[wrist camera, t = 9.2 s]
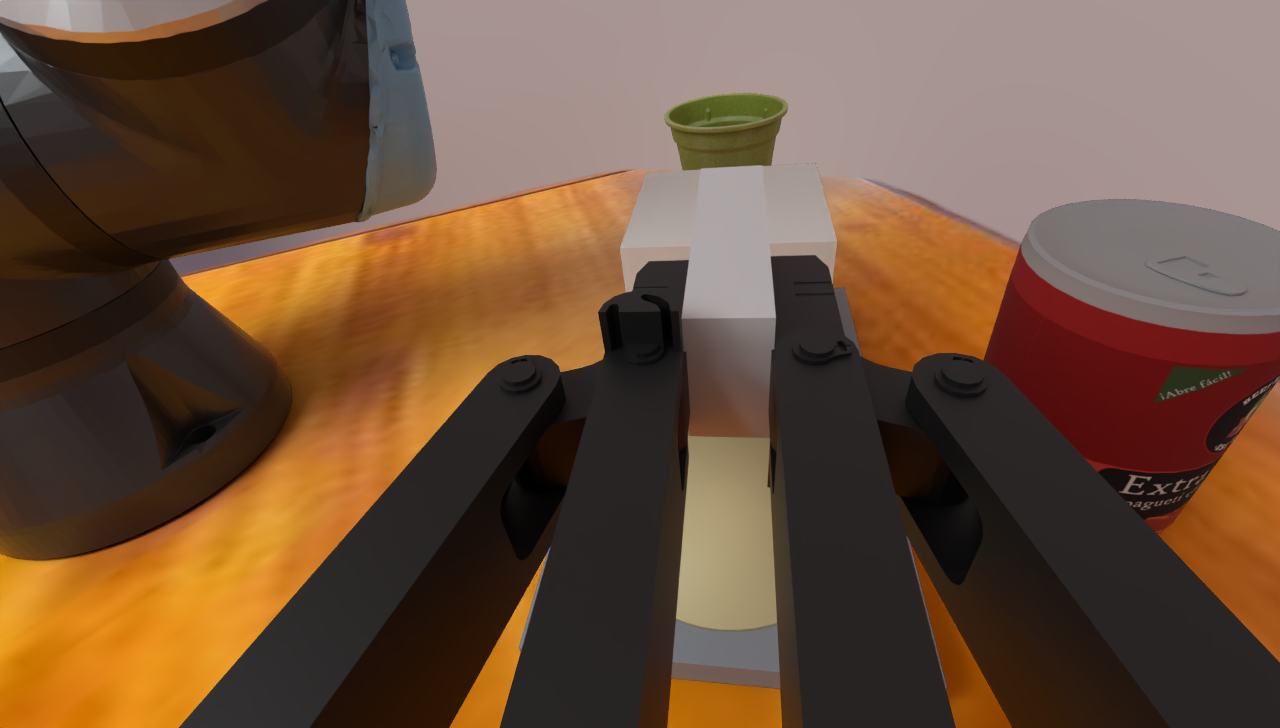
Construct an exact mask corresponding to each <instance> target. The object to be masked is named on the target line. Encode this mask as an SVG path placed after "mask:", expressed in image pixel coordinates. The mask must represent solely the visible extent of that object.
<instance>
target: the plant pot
mask: <svg viewBox="0 0 1280 728" xmlns="http://www.w3.org/2000/svg"><path fill="white" fill-rule="evenodd" d="M787 109H788V104H787V103H786V101H785V100H783V99H781V98H779V97H775V96H771V95H764V94H755V93H733V94H722V95H714V96H708V97H702V98H698V99H694V100H690V101H687V102H684V103H681V104H679V105H676V106H674V107H672V108H671V109H669V110H668V111H667V112H666V113H665V122H666V124H667V125H668V126H669V127H671V131H672V135H673V139H674V141H675V142H676V143H677V146H678V151H679V155H680V160H681V165H682V170H683V171H685V170H701V168H719V167H739V166H758V165H762V166H771V163H772V156H773V150H774V144H775V138H776V135H777V134H778V132H779V129H780V125H781V119H782V117H783V116H784V115H785V114H786V113H787Z"/></svg>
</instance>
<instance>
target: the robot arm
mask: <svg viewBox="0 0 1280 728" xmlns="http://www.w3.org/2000/svg"><path fill="white" fill-rule="evenodd" d="M415 54H416V50H415V46H414V41H413V37H412V32H411V24H410V19H409V14H408V9H407V5H406V1H405V0H0V554H2V555H5V556H8V557H12V558H17V559H26V560H41V559H53V558H61V557H66V556H72V555H77V554H81V553H85V552H89V551H92V550H96V549H100V548H103V547H106V546H109V545H112V544H115V543H117V542H120V541H123V540H126V539H128V538H131V537H133V536H135V535H138V534H140V533H142V532H145V531H147V530H149V529H151V528H153V527H156V526H158V525H160V524H162V523H164V522H166V521H168V520H169V519H171V518H173V517H175V516H177V515H179V514H181V513H182V512H184V511H186V510H187V509H189V508H191V507H193V506H194V505H196V504H197V503H199V502H201V501H202V500H204V499H205V498H207V497H208V496H210V495H211V494H213V493H214V492H216V491H217V490H218V489H220V488H221V487H222V486H224V485H225V484H227V483H228V482H229V481H230V480H232V479H233V478H234V477H235V476H237V475H238V474H239V473H240V472H241V471H243V470H244V469H245V468H246V467H247V466H248V465H249V464H250V463H251V462H252V461H254V460H255V459H256V458H257V457H258V456H259V455H260V453H261V452H262V451H263V450H264V449H265V448H266V447H267V446H268V445H269V443H270V442H271V441H272V440H273V438H274V437H275V436H276V434H277V433H278V431H279V430H280V428H281V427H282V425H283V423H284V421H285V419H286V417H287V415H288V412H289V410H290V406H291V401H292V390H291V386H290V384H289V382H288V380H287V378H286V377H285V375H284V373H283V372H282V370H281V369H280V367H279V365H278V364H277V362H276V361H275V359H274V357H273V356H272V355H271V354H270V353H269V351H268V350H267V349H266V348H265V347H264V346H262V345H261V344H260V343H259V342H257V341H256V340H255V339H253V338H252V337H251V336H250V335H248V334H247V333H246V332H245V331H243V330H242V329H241V328H239V327H238V326H237V325H236V324H234V323H233V322H232V321H231V320H229V319H228V318H227V317H225V316H224V315H223V314H222V313H220V312H219V311H218V310H217V309H215V308H214V307H213V306H211V305H210V304H209V303H208V302H206V301H205V300H204V299H203V298H201V297H200V296H199V295H197V294H196V293H195V292H194V291H192V290H191V289H190V288H189V287H188V286H187V285H186V284H185V283H184V282H183V280H182V279H181V277H180V276H179V275H178V273H177V272H176V270H175V269H174V267H173V266H172V264H171V263H170V261H169V260H168V259H170V258H175V257H180V256H185V255H190V254H195V253H200V252H205V251H210V250H215V249H220V248H225V247H231V246H236V245H240V244H246V243H251V242H255V241H261V240H266V239H270V238H276V237H280V236H286V235H291V234H295V233H301V232H306V231H310V230H316V229H321V228H326V227H331V226H336V225H341V224H346V223H351V222H364V221H366V220H368V219H369V218H370V217H371V216H372V215H376V214H379V213H383V212H386V211H390V210H393V209H397V208H400V207H404V206H407V205H411V204H414V203H417V202H419V201H420V200H422V199H423V198H424V197H426V196H427V195H428V194H429V192H430V191H431V189H432V188H433V186H434V183H435V179H436V172H437V168H436V157H435V149H434V142H433V136H432V130H431V124H430V118H429V113H428V108H427V102H426V97H425V92H424V87H423V83H422V78H421V73H420V69H419V65H418V62H417V61H416V56H415ZM598 314H599V320H600V326H601V331H602V337H603V343H604V349H605V354H604V358H603V360H601V361H599V362H597V363H595V364H593V365H589V366H586V367H583V368H579V369H574V370H570V371H565V372H560V370H559V366H558V365H557V364H556V363H555V362H554V361H553V360H552V359H549V358H546V357H543V356H540V355H524V356H519V357H515V358H511V359H509V360H507V361H504V362H502V363H500V364H498V365H497V366H496V367H495V368H493V369H492V370H491V371H490V372H489V373H487V375H486V376H485V377H484V378H483V379H482V380H481V382H480V383H479V384H478V385H477V386H476V387H475V388H474V390H473V391H472V392H471V393H470V394H469V395H468V396H467V398H466V399H465V400H464V401H463V402H462V403H461V404H460V406H459V407H458V408H457V409H456V410H455V411H454V412H453V414H452V415H451V416H450V417H449V418H448V419H447V421H446V422H445V423H444V424H443V425H442V426H441V427H440V429H439V430H438V431H437V432H436V433H435V434H434V435H433V437H432V438H431V439H430V440H429V441H428V442H427V443H426V445H425V446H424V447H423V448H422V449H421V450H420V452H419V453H418V454H417V455H416V456H415V457H414V458H413V460H412V461H411V462H410V463H409V464H408V465H407V466H406V468H405V469H404V470H403V471H402V472H401V473H400V474H399V476H398V477H397V478H396V479H395V480H394V481H393V482H392V484H391V485H390V486H389V487H388V488H387V489H386V491H385V492H384V493H383V494H382V495H381V496H380V497H379V499H378V500H377V501H376V502H375V503H374V504H373V505H372V507H371V508H370V509H369V510H368V511H367V512H366V513H365V515H364V516H363V517H362V518H361V519H360V520H359V522H358V523H357V524H356V525H355V526H354V527H353V528H352V530H351V531H350V532H349V533H348V534H347V535H346V536H345V538H344V539H343V540H342V541H341V542H340V543H339V544H338V546H337V547H336V548H335V549H334V550H333V551H332V552H331V554H330V555H329V556H328V557H327V558H326V559H325V561H324V562H323V563H322V564H321V565H320V566H319V567H318V569H317V570H316V571H315V572H314V573H313V574H312V575H311V577H310V578H309V579H308V580H307V581H306V582H305V583H304V585H303V586H302V587H301V588H300V589H299V590H298V592H297V593H296V594H295V595H294V596H293V597H292V598H291V600H290V601H289V602H288V603H287V604H286V605H285V606H284V608H283V609H282V610H281V611H280V612H279V613H278V614H277V616H276V617H275V618H274V619H273V620H272V621H271V623H270V624H269V625H268V626H267V627H266V628H265V629H264V631H263V632H262V633H261V634H260V635H259V636H258V637H257V639H256V640H255V641H254V642H253V643H252V644H251V645H250V647H249V648H248V649H247V650H246V651H245V652H244V653H243V655H242V656H241V657H240V658H239V659H238V660H237V662H236V663H235V664H234V665H233V666H232V667H231V668H230V670H229V671H228V672H227V673H226V674H225V675H224V676H223V678H222V679H221V680H220V681H219V682H218V683H217V684H216V686H215V687H214V688H213V689H212V690H211V691H210V693H209V694H208V695H207V696H206V697H205V698H204V699H203V701H202V702H201V703H200V704H199V705H198V706H197V707H196V709H195V710H194V711H193V712H192V713H191V714H190V715H189V717H188V718H187V719H186V720H185V721H184V722H183V723H182V725H181V726H180V727H179V728H449V727H450V725H451V723H452V722H453V720H454V718H455V716H456V715H457V713H458V711H459V709H460V707H461V706H462V704H463V702H464V700H465V698H466V697H467V695H468V693H469V691H470V689H471V688H472V686H473V684H474V682H475V681H476V679H477V677H478V675H479V673H480V672H481V670H482V668H483V666H484V664H485V663H486V661H487V659H488V657H489V656H490V654H491V652H492V650H493V648H494V647H495V645H496V643H497V641H498V639H499V638H500V636H501V634H502V632H503V630H504V629H505V627H506V625H507V623H508V622H509V620H510V618H511V616H512V614H513V613H514V611H515V609H516V607H517V605H518V604H519V602H520V600H521V598H522V597H523V595H524V593H525V591H526V589H527V588H528V586H529V584H530V582H531V580H532V579H533V577H534V575H535V573H536V571H537V570H538V568H539V566H540V564H541V563H542V561H543V559H544V557H545V555H546V554H547V552H548V550H549V548H550V550H549V554H548V557H547V561H546V565H545V568H544V572H543V575H542V579H541V582H540V586H539V590H538V593H537V597H536V600H535V604H534V607H533V611H532V614H531V618H530V622H529V625H528V629H527V632H526V636H525V639H524V643H523V647H522V650H521V654H520V657H519V661H518V664H517V668H516V671H515V675H514V679H513V682H512V686H511V689H510V693H509V696H508V700H507V704H506V707H505V711H504V714H503V718H502V721H501V725H500V728H667V723H668V711H669V698H670V686H671V674H672V661H673V649H674V637H675V625H676V612H677V600H678V588H679V575H680V563H681V551H682V539H683V526H684V514H685V502H686V490H687V477H688V465H689V450H688V431H689V436H703V437H746V438H769V437H770V448H769V466H768V484H767V487H770V492H771V512H772V532H773V552H774V571H775V591H776V611H777V631H778V650H779V670H780V690H781V710H782V728H956V727H955V723H954V719H953V716H952V712H951V708H950V704H949V700H948V696H947V692H946V688H945V684H944V680H943V677H942V673H941V669H940V665H939V661H938V657H937V653H936V649H935V645H934V641H933V638H932V634H931V630H930V626H929V622H928V618H927V614H926V610H925V606H924V603H923V599H922V595H921V591H920V587H919V583H918V579H917V575H916V571H915V567H914V564H913V560H912V556H911V552H910V548H909V544H908V540H907V537H908V539H909V541H910V543H911V545H912V546H913V548H914V550H915V552H916V554H917V556H918V557H919V559H920V561H921V563H922V565H923V566H924V568H925V570H926V572H927V574H928V575H929V577H930V579H931V581H932V583H933V585H934V586H935V588H936V590H937V592H938V594H939V595H940V597H941V599H942V601H943V603H944V604H945V606H946V608H947V610H948V612H949V614H950V615H951V617H952V619H953V621H954V623H955V624H956V626H957V628H958V630H959V632H960V633H961V635H962V637H963V639H964V641H965V643H966V644H967V646H968V648H969V650H970V652H971V653H972V655H973V657H974V659H975V661H976V662H977V664H978V666H979V668H980V670H981V671H982V673H983V675H984V677H985V679H986V681H987V682H988V684H989V686H990V688H991V690H992V691H993V693H994V695H995V697H996V699H997V700H998V702H999V704H1000V706H1001V708H1002V710H1003V711H1004V713H1005V715H1006V717H1007V719H1008V720H1009V722H1010V724H1011V726H1012V728H1280V662H1279V661H1278V660H1277V659H1276V658H1275V657H1274V656H1273V655H1272V654H1271V653H1270V652H1269V651H1268V650H1267V649H1266V648H1265V647H1264V646H1263V645H1262V644H1261V642H1260V641H1259V640H1258V639H1257V638H1256V637H1255V636H1254V635H1253V634H1252V633H1251V632H1250V631H1249V630H1248V629H1247V628H1246V627H1245V626H1244V625H1243V624H1242V623H1241V622H1240V620H1239V619H1238V618H1237V617H1236V616H1235V615H1234V614H1233V613H1232V612H1231V611H1230V610H1229V609H1228V608H1227V607H1226V606H1225V605H1224V604H1223V603H1222V602H1221V601H1220V600H1219V598H1218V597H1217V596H1216V595H1215V594H1214V593H1213V592H1212V591H1211V590H1210V589H1209V588H1208V587H1207V586H1206V585H1205V584H1204V583H1203V582H1202V581H1201V580H1200V579H1199V578H1198V576H1197V575H1196V574H1195V573H1194V572H1193V571H1192V570H1191V569H1190V568H1189V567H1188V566H1187V565H1186V564H1185V563H1184V562H1183V561H1182V560H1181V559H1180V558H1179V557H1178V556H1177V554H1176V553H1175V552H1174V551H1173V550H1172V549H1171V548H1170V547H1169V546H1168V545H1167V544H1166V543H1165V542H1164V541H1163V540H1162V539H1161V538H1160V537H1159V536H1158V535H1157V534H1156V532H1155V531H1154V530H1153V529H1152V528H1151V527H1150V526H1149V525H1148V524H1147V523H1146V522H1145V521H1144V520H1143V519H1142V518H1141V517H1140V516H1139V515H1138V514H1137V513H1136V512H1135V510H1134V509H1133V508H1132V507H1131V506H1130V505H1129V504H1128V503H1127V502H1126V501H1125V500H1124V499H1123V498H1122V497H1121V496H1120V495H1119V494H1118V493H1117V492H1116V491H1115V490H1114V488H1113V487H1112V486H1111V485H1110V484H1109V483H1108V482H1107V481H1106V480H1105V479H1104V478H1103V477H1102V476H1101V475H1100V474H1099V473H1098V472H1097V471H1096V470H1095V469H1094V468H1093V466H1092V465H1091V464H1090V463H1089V462H1088V461H1087V460H1086V459H1085V458H1084V457H1083V456H1082V455H1081V454H1080V453H1079V452H1078V451H1077V450H1076V449H1075V448H1074V447H1073V446H1072V444H1071V443H1070V442H1069V441H1068V440H1067V439H1066V438H1065V437H1064V436H1063V435H1062V434H1061V433H1060V432H1059V431H1058V430H1057V429H1056V428H1055V427H1054V426H1053V425H1052V424H1051V423H1050V421H1049V420H1048V419H1047V418H1046V417H1045V416H1044V415H1043V414H1042V413H1041V412H1040V411H1039V410H1038V409H1037V408H1036V407H1035V406H1034V405H1033V404H1032V403H1031V402H1030V401H1029V399H1028V398H1027V397H1026V396H1025V395H1024V394H1023V393H1022V392H1021V391H1020V390H1019V389H1018V388H1017V387H1016V386H1015V385H1014V384H1013V383H1012V382H1011V381H1010V380H1009V379H1008V377H1007V376H1006V375H1005V374H1004V373H1002V372H1001V371H1000V370H998V369H997V368H996V367H994V366H993V365H992V364H990V363H988V362H985V361H983V360H981V359H978V358H976V357H973V356H968V355H963V354H957V353H937V354H934V355H931V356H927V357H924V358H922V359H921V360H920V361H919V362H918V363H916V364H915V365H914V368H913V372H909V371H904V370H899V369H894V368H890V367H886V366H882V365H879V364H875V363H873V362H871V361H869V360H866V359H864V358H863V357H861V356H860V353H859V350H858V349H857V347H856V345H855V344H854V342H853V341H851V340H850V339H848V338H847V337H846V336H845V334H844V330H843V325H842V321H841V317H840V313H839V309H838V304H837V300H836V296H835V292H834V288H833V284H832V279H831V275H830V271H829V267H828V266H827V265H826V264H825V263H823V262H822V261H821V260H820V259H819V258H818V257H817V256H816V255H797V256H770V245H769V234H768V223H767V211H766V200H765V189H764V178H763V166H762V165H758V166H739V167H719V168H701V172H700V180H699V188H698V195H697V203H696V211H695V218H694V226H693V234H692V241H691V249H690V257H689V260H674V261H649V262H648V263H647V264H646V265H645V266H644V267H643V268H642V269H641V270H640V271H639V272H638V273H637V274H636V278H635V282H634V285H633V290H632V291H631V292H626V293H623V294H620V295H618V296H615V297H613V298H612V299H610V300H609V301H607V302H606V303H604V304H603V306H602V307H601V309H600V310H599V312H598ZM550 546H551V547H550Z"/></svg>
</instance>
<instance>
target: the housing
mask: <svg viewBox="0 0 1280 728" xmlns="http://www.w3.org/2000/svg"><path fill="white" fill-rule="evenodd" d="M700 172H701V170H685V171H666V172H648V173H647V174H646V176H645V179H644V182H643V185H642V187H641V190H640V193H639V196H638V199H637V201H636V204H635V207H634V210H633V212H632V215H631V218H630V221H629V224H628V226H627V229H626V232H625V235H624V237H623V240H622V243H621V246H620V255H621V262H622V269H623V276H624V283H625V291H626V292H631V291H632V290H633V285H634V282H635V278H636V274H637V273H638V272H639V271H640V270H641V269H642V268H643V267H644V266H645V265H646V264H647V263H648V262H649V261H674V260H689V257H690V249H691V241H692V234H693V226H694V218H695V211H696V203H697V195H698V188H699V180H700ZM763 178H764V189H765V200H766V211H767V223H768V234H769V245H770V256H797V255H816V256H817V257H818V258H819V259H820V260H821V261H822V262H823V263H825V264H826V265H827V266H828V267H829V271H830V275H831V279H832V284H833V274H834V265H835V256H836V247H837V239H836V235H835V231H834V228H833V224H832V220H831V217H830V213H829V209H828V205H827V202H826V198H825V194H824V191H823V187H822V183H821V179H820V176H819V172H818V169H817V165H816V163H812V164H794V165H776V166H763Z"/></svg>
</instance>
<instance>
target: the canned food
mask: <svg viewBox="0 0 1280 728" xmlns="http://www.w3.org/2000/svg"><path fill="white" fill-rule="evenodd" d="M983 361H985V362H988V363H990V364H992V365H993V366H994V367H996V368H997V369H998V370H1000V371H1001V372H1002V373H1004V374H1005V375H1006V376H1007V377H1008V379H1009V380H1010V381H1011V382H1012V383H1013V384H1014V385H1015V386H1016V387H1017V388H1018V389H1019V390H1020V391H1021V392H1022V393H1023V394H1024V395H1025V396H1026V397H1027V398H1028V399H1029V401H1030V402H1031V403H1032V404H1033V405H1034V406H1035V407H1036V408H1037V409H1038V410H1039V411H1040V412H1041V413H1042V414H1043V415H1044V416H1045V417H1046V418H1047V419H1048V420H1049V421H1050V423H1051V424H1052V425H1053V426H1054V427H1055V428H1056V429H1057V430H1058V431H1059V432H1060V433H1061V434H1062V435H1063V436H1064V437H1065V438H1066V439H1067V440H1068V441H1069V442H1070V443H1071V444H1072V446H1073V447H1074V448H1075V449H1076V450H1077V451H1078V452H1079V453H1080V454H1081V455H1082V456H1083V457H1084V458H1085V459H1086V460H1087V461H1088V462H1089V463H1090V464H1091V465H1092V466H1093V468H1094V469H1095V470H1096V471H1097V472H1098V473H1099V474H1100V475H1101V476H1102V477H1103V478H1104V479H1105V480H1106V481H1107V482H1108V483H1109V484H1110V485H1111V486H1112V487H1113V488H1114V490H1115V491H1116V492H1117V493H1118V494H1119V495H1120V496H1121V497H1122V498H1123V499H1124V500H1125V501H1126V502H1127V503H1128V504H1129V505H1130V506H1131V507H1132V508H1133V509H1134V510H1135V512H1136V513H1137V514H1138V515H1139V516H1140V517H1141V518H1142V519H1143V520H1144V521H1145V522H1146V523H1147V524H1148V525H1149V526H1150V527H1151V528H1152V529H1153V530H1154V531H1155V532H1156V534H1159V533H1161V532H1162V531H1163V530H1165V529H1166V528H1167V527H1168V526H1169V525H1170V524H1171V523H1173V521H1174V520H1175V519H1176V517H1177V516H1178V515H1179V513H1180V512H1181V511H1182V509H1183V508H1184V506H1185V505H1186V504H1187V502H1188V501H1189V500H1190V498H1191V497H1192V496H1193V494H1194V493H1195V492H1196V490H1197V489H1198V488H1199V486H1200V485H1201V484H1202V482H1203V481H1204V480H1205V478H1206V477H1207V475H1208V474H1209V473H1210V471H1211V470H1212V469H1213V467H1214V466H1215V465H1216V463H1217V462H1218V461H1219V459H1220V458H1221V457H1222V455H1223V454H1224V453H1225V451H1226V450H1227V449H1228V447H1229V446H1230V445H1231V443H1232V442H1233V440H1234V439H1235V438H1236V436H1237V435H1238V434H1239V432H1240V431H1241V430H1242V428H1243V427H1244V426H1245V424H1246V423H1247V422H1248V420H1249V419H1250V418H1251V416H1252V415H1253V414H1254V412H1255V411H1256V409H1257V408H1258V407H1259V405H1260V404H1261V403H1262V401H1263V400H1264V399H1265V397H1266V396H1267V395H1268V393H1269V392H1270V391H1271V389H1272V388H1273V387H1274V385H1275V384H1276V383H1277V381H1278V380H1279V379H1280V231H1278V230H1275V229H1273V228H1270V227H1268V226H1266V225H1263V224H1260V223H1257V222H1254V221H1251V220H1248V219H1245V218H1242V217H1239V216H1235V215H1231V214H1227V213H1223V212H1219V211H1215V210H1211V209H1205V208H1201V207H1195V206H1190V205H1184V204H1176V203H1169V202H1162V201H1149V200H1136V199H1133V200H1132V199H1108V200H1094V201H1093V200H1092V201H1085V202H1078V203H1071V204H1066V205H1063V206H1059V207H1055V208H1052V209H1050V210H1048V211H1046V212H1044V213H1042V214H1040V215H1039V216H1038V217H1036V218H1035V219H1034V220H1033V221H1032V222H1031V224H1030V226H1029V229H1028V231H1027V233H1026V235H1025V237H1024V239H1023V241H1022V243H1021V246H1020V249H1019V252H1018V255H1017V258H1016V261H1015V264H1014V267H1013V269H1012V272H1011V275H1010V278H1009V281H1008V284H1007V287H1006V291H1005V294H1004V297H1003V300H1002V303H1001V306H1000V310H999V313H998V316H997V319H996V322H995V325H994V329H993V332H992V335H991V338H990V341H989V345H988V348H987V351H986V354H985V357H984V360H983Z"/></svg>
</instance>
